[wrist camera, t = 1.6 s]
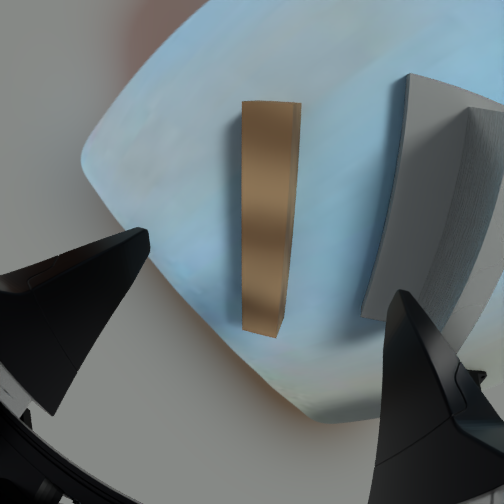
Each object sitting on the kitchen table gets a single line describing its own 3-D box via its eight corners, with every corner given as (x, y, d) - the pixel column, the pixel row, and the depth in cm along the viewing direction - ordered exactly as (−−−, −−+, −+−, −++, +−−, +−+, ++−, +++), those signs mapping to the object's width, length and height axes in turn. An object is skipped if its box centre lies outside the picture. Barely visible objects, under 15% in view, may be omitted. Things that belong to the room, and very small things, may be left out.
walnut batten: (284, 315, 26) (275, 338, 24) (253, 308, 27) (242, 329, 25) (302, 103, 17) (293, 103, 14) (257, 100, 18) (242, 101, 15)
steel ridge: (431, 319, 20) (440, 376, 15) (410, 316, 20) (415, 374, 15) (494, 116, 11) (542, 129, 6) (468, 106, 12) (513, 114, 7)
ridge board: (461, 324, 20) (464, 334, 19) (361, 307, 23) (360, 316, 22) (530, 120, 11) (538, 123, 10) (406, 74, 13) (410, 73, 12)
